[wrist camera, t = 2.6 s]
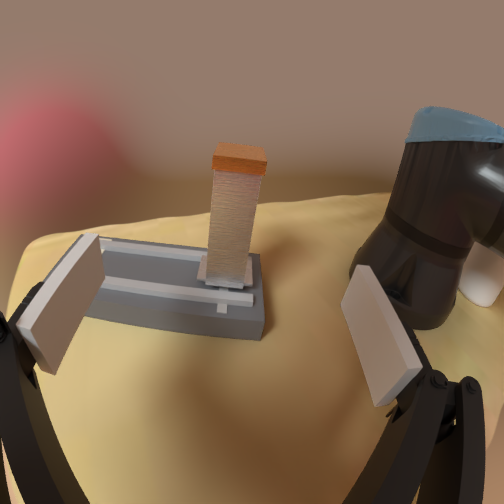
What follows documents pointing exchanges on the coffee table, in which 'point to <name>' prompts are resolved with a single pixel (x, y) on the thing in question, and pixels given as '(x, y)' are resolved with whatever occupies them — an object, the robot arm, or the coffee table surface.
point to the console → (172, 291)
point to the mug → (482, 276)
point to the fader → (232, 215)
